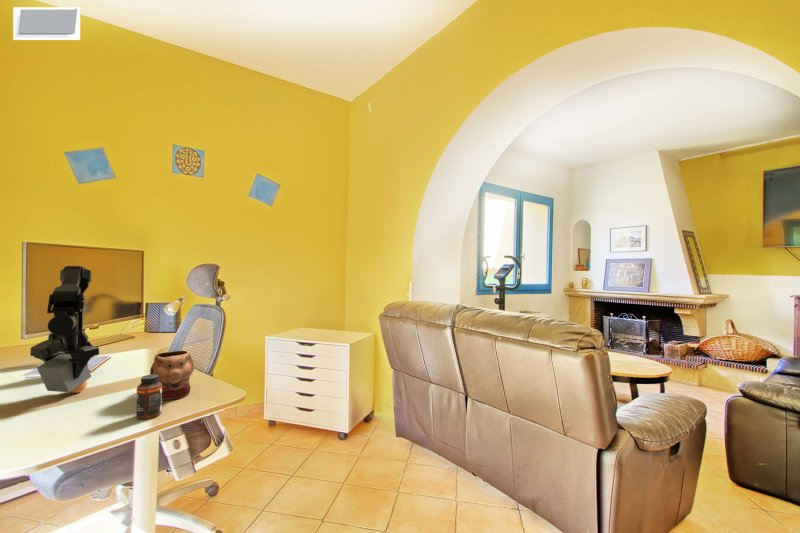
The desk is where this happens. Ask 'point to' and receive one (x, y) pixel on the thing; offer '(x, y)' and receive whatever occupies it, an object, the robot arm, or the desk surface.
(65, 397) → the desk surface
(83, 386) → the brown egg
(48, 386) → the gray cube
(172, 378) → the decorative planter
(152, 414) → the supplement bottle
